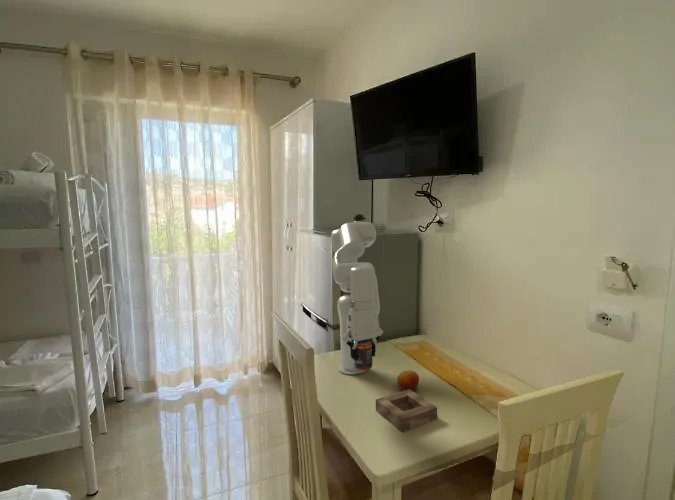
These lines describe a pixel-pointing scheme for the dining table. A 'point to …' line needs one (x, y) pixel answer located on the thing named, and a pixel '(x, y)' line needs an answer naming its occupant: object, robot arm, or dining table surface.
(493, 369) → the dining table surface
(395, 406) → the socket block
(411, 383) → the fruit
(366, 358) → the supplement bottle
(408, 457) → the dining table surface
